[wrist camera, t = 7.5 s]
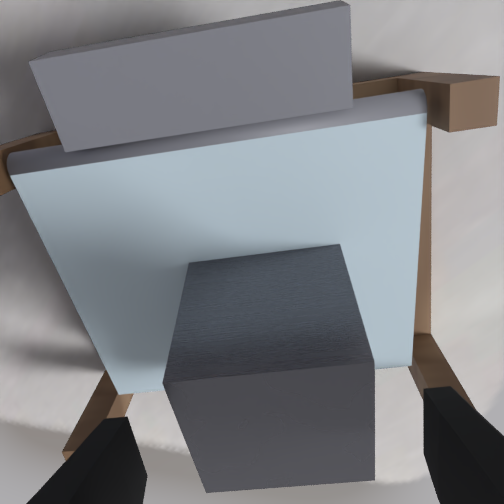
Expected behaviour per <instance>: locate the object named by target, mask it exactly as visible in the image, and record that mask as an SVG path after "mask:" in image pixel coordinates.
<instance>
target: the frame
mask: <svg viewBox="0 0 504 504" xmlns="http://www.w3.org/2000/svg"><path fill="white" fill-rule="evenodd" d="M499 81H500V76H486V75H468V74H451V73H433V72H419V73H413V74H407V75H400V76H394V77H388V78H382V79H375V80H369V81H363V82H356V83H352V86H353V99H358V98H364V97H371V96H377V95H383V94H390V93H396V92H403V91H409V90H415V89H423V90H424V92H425V95H426V99H427V126H426V142H425V158H424V174H423V190H422V206H421V222H420V238H419V254H418V270H417V287H416V303H415V319H414V335H413V351H412V366H408V368H409V370H410V373H411V375H412V377H413V379H414V381H415V384H416V386H417V388H418V390H419V392H420V395H421V397H422V399H423V389H425V388H435V387H446V386H451V387H452V388H453V389H455V390H456V391H457V392H458V393H459V394H460V395H461V396H462V397H463V398H464V399H465V400H466V401H467V402H468V403H469V404H470V405H471V406H472V407H473V408H474V409H475V407H474V406H473V404H472V402H471V401H470V399H469V397H468V396H467V394H466V392H465V390H464V389H463V387H462V385H461V384H460V382H459V380H458V379H457V377H456V375H455V374H454V372H453V370H452V369H451V367H450V365H449V364H448V362H447V360H446V359H445V357H444V355H443V354H442V352H441V350H440V348H439V347H438V345H437V343H436V342H435V340H434V338H433V337H432V335H431V164H432V126H434V127H437V128H439V129H442V130H444V131H447V132H455V131H462V130H469V129H476V128H483V127H490V126H496V125H497V114H498V98H499ZM56 145H62V143H61V141H60V138H59V136H58V133H57V131H56V130H55V131H49V132H43V133H38V134H35V135H32V136H28V137H25V138H22V139H18V140H15V141H12V142H9V143H5V144H2V145H0V196H1V195H3V194H5V193H7V192H9V191H11V190H13V189H15V188H16V187H15V185H14V183H13V181H12V179H11V177H10V175H9V172H8V169H7V158H8V155H9V154H10V153H12V152H18V151H24V150H31V149H37V148H44V147H50V146H56ZM133 394H134V393H131V394H121V395H119V394H118V392H117V390H116V388H115V386H114V384H113V382H112V380H111V378H110V376H109V374H108V372H107V370H105V372H104V374H103V376H102V378H101V380H100V382H99V383H98V385H97V387H96V389H95V391H94V393H93V395H92V397H91V398H90V400H89V402H88V404H87V406H86V408H85V410H84V412H83V413H82V415H81V417H80V419H79V421H78V423H77V425H76V427H75V428H74V430H73V432H72V434H71V436H70V438H69V440H68V442H67V443H66V446H65V447H64V449H63V451H62V453H63V456H64V458H65V460H67V459H68V458H69V457H70V456H71V455H72V454H73V453H74V451H75V450H76V449H77V448H78V447H79V446H80V445H81V444H82V442H83V441H84V440H85V439H86V438H87V437H88V436H89V435H90V433H91V432H92V431H93V430H94V429H95V428H96V427H97V426H98V425H99V424H100V423H101V421H102V420H103V419H106V418H117V417H124V416H125V414H126V411H127V409H128V406H129V404H130V401H131V399H132V397H133ZM475 410H476V409H475Z"/></svg>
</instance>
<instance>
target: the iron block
mask: <svg viewBox="0 0 504 504" xmlns="http://www.w3.org/2000/svg"><path fill="white" fill-rule="evenodd" d="M162 384H163V386H164V389H165V391H166V394H167V396H168V399H169V401H170V404H171V406H172V409H173V411H174V414H175V416H176V419H177V421H178V424H179V426H180V429H181V431H182V434H183V436H184V439H185V441H186V444H187V446H188V449H189V451H190V454H191V456H192V459H193V461H194V463H195V466H196V469H197V471H198V473H199V476H200V478H201V481H202V483H203V486H204V488H205V491H206V493H211V492H224V491H238V490H251V489H265V488H278V487H292V486H303V485H304V486H305V485H318V484H332V483H344V482H358V481H372V480H375V362H374V358H373V355H372V351H371V348H370V344H369V341H368V338H367V334H366V331H365V327H364V324H363V321H362V317H361V314H360V310H359V307H358V304H357V300H356V297H355V293H354V290H353V286H352V283H351V280H350V276H349V273H348V269H347V266H346V263H345V259H344V256H343V252H342V249H341V246H340V244H335V245H327V246H319V247H311V248H303V249H295V250H287V251H279V252H271V253H263V254H255V255H247V256H238V257H230V258H222V259H214V260H206V261H198V262H190V263H189V264H188V269H187V273H186V278H185V282H184V287H183V292H182V296H181V301H180V305H179V310H178V314H177V319H176V323H175V328H174V332H173V337H172V341H171V346H170V350H169V355H168V360H167V364H166V369H165V373H164V378H163V382H162Z"/></svg>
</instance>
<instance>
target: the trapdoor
mask: <svg viewBox="0 0 504 504" xmlns="http://www.w3.org/2000/svg"><path fill="white" fill-rule="evenodd" d="M29 65H30V67H31V70H32V72H33V75H34V77H35V80H36V82H37V84H38V87H39V89H40V92H41V94H42V97H43V99H44V101H45V104H46V106H47V109H48V111H49V114H50V116H51V119H52V121H53V123H54V126H55V128H56V131H57V133H58V136H59V138H60V141H61V143H62V145H56V146H50V147H44V148H37V149H31V150H24V151H18V152H12V153H10V154H9V155H8V158H7V169H8V172H9V175H10V177H11V179H12V181H13V183H14V185H15V187H16V189H17V191H18V193H19V195H20V197H21V199H22V201H23V203H24V205H25V207H26V209H27V211H28V213H29V215H30V217H31V219H32V221H33V223H34V225H35V227H36V229H37V231H38V233H39V235H40V237H41V239H42V241H43V243H44V245H45V247H46V249H47V251H48V253H49V255H50V257H51V259H52V261H53V263H54V265H55V267H56V269H57V271H58V273H59V275H60V277H61V279H62V281H63V283H64V285H65V287H66V289H67V291H68V293H69V295H70V298H71V300H72V302H73V304H74V306H75V308H76V310H77V312H78V314H79V316H80V318H81V320H82V322H83V324H84V326H85V328H86V330H87V332H88V334H89V336H90V338H91V340H92V342H93V344H94V346H95V348H96V350H97V352H98V354H99V356H100V358H101V360H102V362H103V364H104V366H105V368H106V370H107V372H108V374H109V376H110V378H111V380H112V382H113V384H114V386H115V388H116V390H117V392H118V394H119V395H121V394H131V393H141V392H151V391H161V390H165V389H164V386H163V384H162V382H163V378H164V373H165V369H166V364H167V360H168V355H169V350H170V346H171V341H172V337H173V332H174V328H175V323H176V319H177V314H178V310H179V305H180V301H181V296H182V292H183V287H184V282H185V278H186V273H187V269H188V264H189V263H190V262H198V261H206V260H214V259H222V258H230V257H238V256H247V255H255V254H263V253H271V252H279V251H287V250H295V249H303V248H311V247H319V246H327V245H335V244H340V246H341V249H342V252H343V256H344V259H345V263H346V266H347V269H348V273H349V276H350V280H351V283H352V286H353V290H354V293H355V297H356V300H357V304H358V307H359V310H360V314H361V317H362V321H363V324H364V327H365V331H366V334H367V338H368V341H369V344H370V348H371V351H372V355H373V358H374V362H375V369H383V368H393V367H403V366H412V351H413V335H414V319H415V303H416V287H417V270H418V254H419V238H420V222H421V206H422V190H423V174H424V158H425V142H426V126H427V99H426V95H425V92H424V90H423V89H415V90H409V91H403V92H396V93H390V94H383V95H377V96H371V97H364V98H358V99H353V86H352V53H351V19H350V5H349V4H347V3H345V2H343V1H341V0H339V1H334V2H328V3H322V4H317V5H311V6H305V7H300V8H294V9H288V10H283V11H277V12H271V13H266V14H260V15H254V16H249V17H243V18H238V19H232V20H226V21H221V22H215V23H209V24H204V25H198V26H192V27H187V28H181V29H175V30H170V31H164V32H159V33H153V34H147V35H142V36H136V37H130V38H125V39H119V40H113V41H108V42H102V43H96V44H91V45H85V46H79V47H74V48H68V49H63V50H57V51H51V52H48V53H46V54H44V55H42V56H39V57H37V58H35V59H33V60H31V61H29Z"/></svg>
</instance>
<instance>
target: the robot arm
mask: <svg viewBox="0 0 504 504" xmlns="http://www.w3.org/2000/svg"><path fill="white" fill-rule="evenodd" d="M423 404H424V456H425V459H426V463H427V466H428V469H429V472H430V475H431V479H432V482H433V485H434V488H435V491H436V494H437V497H438V500H439V502H440V504H504V436H503V435H502V434H501V433H500V432H499V431H498V430H496V428H494V426H492V425H491V424H490V423H489V422H488V421H487V420H486V419H485V418H484V417H483V416H482V415H481V414H480V413H479V412H478V411H477V410H475V409H474V408H473V407H472V406H471V405H470V404H469V403H468V402H467V401H466V400H465V399H464V398H463V397H462V396H461V395H460V394H459V393H458V392H457V391H456V390H455V389H453V388H452V387H451V386H446V387H435V388H425V389H423ZM146 481H147V473H146V470H145V467H144V465H143V461H142V458H141V455H140V452H139V449H138V446H137V443H136V440H135V437H134V435H133V432H132V429H131V426H130V423H129V420H128V417H117V418H106V419H103V420H102V421H101V423H100V424H99V425H98V426H97V427H96V428H95V429H94V430H93V431H92V432H91V433H90V435H89V436H88V437H87V438H86V439H85V440H84V441H83V442H82V444H81V445H80V446H79V447H78V448H77V449H76V450H75V451H74V453H73V454H72V455H71V456H70V457H69V458H68V459H67V460H66V462H65V463H64V464H63V465H62V466H61V467H60V468H59V469H58V470H57V471H56V473H55V474H54V475H53V476H52V477H51V478H50V479H49V480H48V481H47V482H46V483H45V485H44V486H43V487H42V488H41V489H40V490H39V491H38V492H37V493H36V494H35V495H34V496H33V497H32V498H31V499H30V501H28V503H27V504H143V499H144V492H145V487H146Z"/></svg>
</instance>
